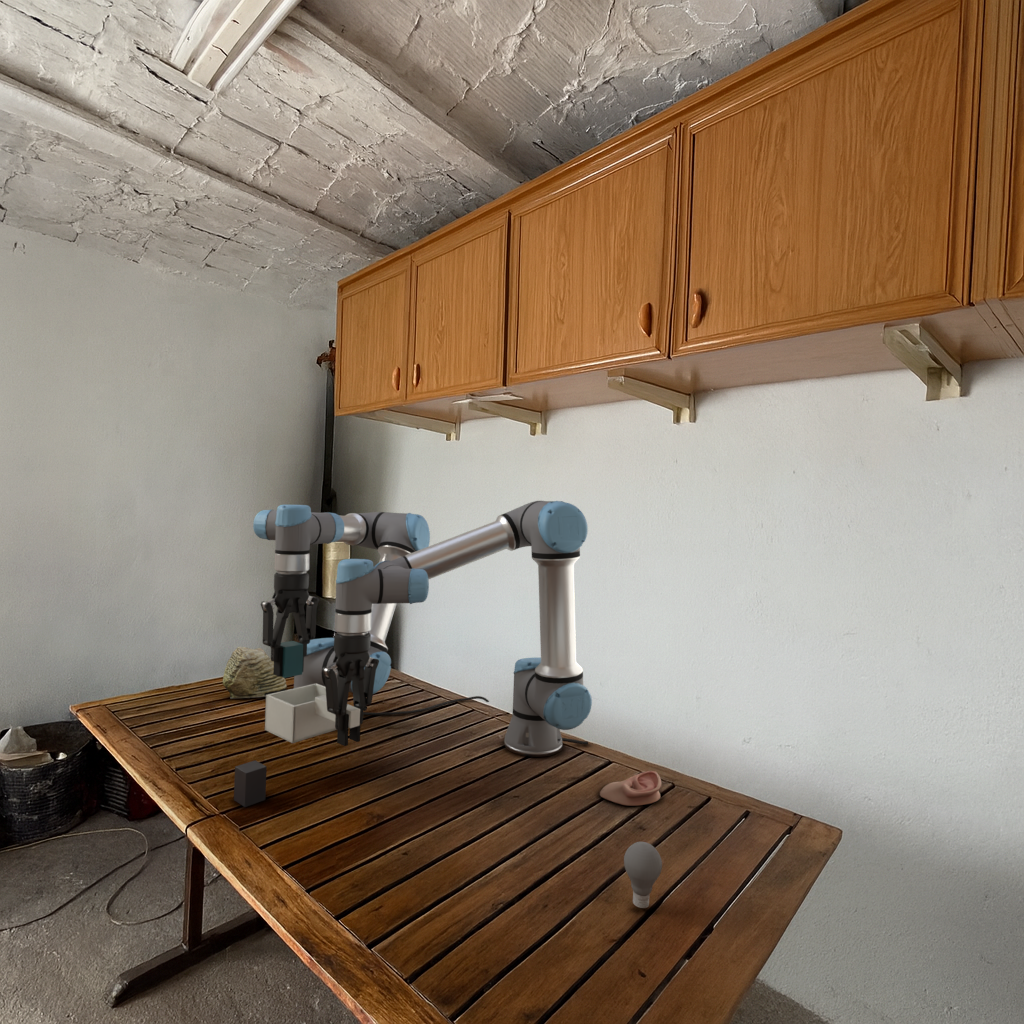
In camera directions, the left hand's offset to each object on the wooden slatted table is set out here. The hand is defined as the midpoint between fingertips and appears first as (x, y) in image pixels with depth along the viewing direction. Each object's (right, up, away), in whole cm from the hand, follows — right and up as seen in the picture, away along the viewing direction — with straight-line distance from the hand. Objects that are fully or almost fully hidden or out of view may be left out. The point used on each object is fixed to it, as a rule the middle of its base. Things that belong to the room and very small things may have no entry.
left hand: (288, 672), depth 145 cm
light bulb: (+72, -26, -44) cm, 88 cm away
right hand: (+17, -12, -11) cm, 23 cm away
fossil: (-29, -20, +53) cm, 63 cm away
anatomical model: (+78, -26, -5) cm, 82 cm away
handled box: (+9, -13, -4) cm, 16 cm away
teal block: (0, 0, 0) cm, 0 cm away
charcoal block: (-3, -23, -14) cm, 27 cm away
